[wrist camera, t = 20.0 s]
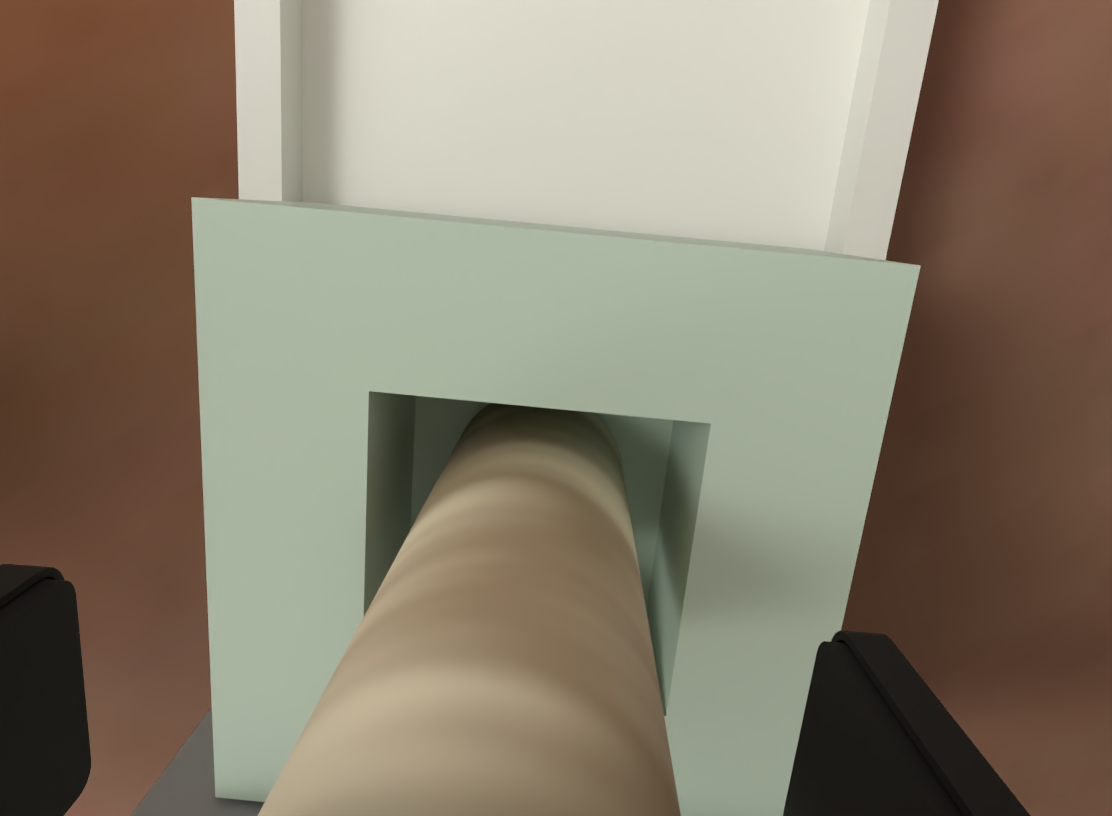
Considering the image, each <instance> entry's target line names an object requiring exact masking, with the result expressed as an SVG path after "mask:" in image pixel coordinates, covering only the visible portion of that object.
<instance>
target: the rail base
mask: <svg viewBox="0 0 1112 816" xmlns="http://www.w3.org/2000/svg"><path fill="white" fill-rule="evenodd" d="M938 2H939V0H234V12H235V54H236V97H237V139H238V181H239V199H241V200H263V201H285V202H306V203H323V204H334V205H345V206H355V207H366V208H377V209H387V210H398V211H409V212H419V213H430V214H441V215H451V216H462V217H473V218H483V219H494V220H505V221H516V222H526V223H537V224H548V225H558V226H569V227H580V228H590V229H601V230H612V231H622V232H633V233H644V234H654V235H665V236H676V237H687V238H697V239H708V240H719V241H729V242H740V243H751V244H761V245H772V246H783V247H793V248H804V249H812V250H819V251H826V252H833V253H839V254H846V255H853V256H860V257H867V258H873V259H880V260H886V255H887V250H888V245H889V240H890V235H891V231H892V226H893V221H894V216H895V211H896V206H897V201H898V197H899V192H900V187H901V182H902V177H903V172H904V167H905V163H906V158H907V153H908V148H909V143H910V138H911V133H912V128H913V124H914V119H915V114H916V109H917V104H918V99H919V94H920V90H921V85H922V80H923V75H924V70H925V65H926V60H927V56H928V51H929V46H930V41H931V36H932V31H933V26H934V21H935V17H936V12H937V7H938ZM264 803H265V802H259V801H248V800H238V799H228V798H218V797H215V775H214V750H213V725H212V707H211V708H210V710H209V711H208V712H207V714H206V715H205V716H204V718H203V719H202V720H201V722H200V723H199V725H198V726H197V727H196V729H195V730H194V731H193V733H192V734H191V735H190V737H189V738H188V739H187V741H186V742H185V743H184V745H183V746H182V747H181V749H180V750H179V751H178V753H177V754H176V755H175V757H174V758H173V759H172V761H171V762H170V763H169V765H168V766H167V767H166V769H165V770H164V772H163V773H162V774H161V776H160V777H159V778H158V780H157V781H156V782H155V784H154V785H153V786H152V788H151V789H150V790H149V792H148V793H147V794H146V796H145V797H144V798H143V800H142V801H141V802H140V804H139V805H138V806H137V808H136V809H135V810H134V812H133V813H132V814H131V816H258V814H259V812H260V810H261V808H262V806H263V804H264Z"/></svg>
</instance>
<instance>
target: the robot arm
mask: <svg viewBox="0 0 1112 816" xmlns="http://www.w3.org/2000/svg"><path fill="white" fill-rule="evenodd" d="M90 769H91V755H90V744H89V733H88V722H87V711H86V700H85V689H84V678H83V667H82V656H81V645H80V634H79V623H78V612H77V601H76V593H75V588H74V586H73V585H72V583H70V582H68V581H64V577H63V576H62V574H61V572H60V571H59V570H57V569H55V568H51V567H38V566H26V565H13V564H2V565H0V816H63V815H64V814H65V813H66V812H67V811H68V809H69V808H70V807H71V806H72V804H73V803H74V802H75V801H76V800H77V798H78V797H79V795H80V794H81V793H82V791H83V789H84V787H85V785H86V783H87V780H88V777H89V774H90ZM783 816H1030V815H1029V814H1028V812H1027V811H1026V810H1025V808H1024V807H1023V806H1022V805H1021V803H1020V802H1019V801H1018V800H1017V798H1016V797H1015V796H1014V795H1013V793H1012V792H1011V791H1010V790H1009V788H1008V787H1007V786H1006V784H1005V783H1004V782H1003V781H1002V779H1001V778H1000V777H999V776H998V774H997V773H996V772H995V771H994V769H993V768H992V767H991V765H990V764H989V763H988V762H987V760H986V759H985V758H984V757H983V755H982V754H981V753H980V752H979V750H978V749H977V748H976V747H975V745H974V744H973V743H972V741H971V740H970V739H969V738H968V736H967V735H966V734H965V733H964V731H963V730H962V729H961V728H960V726H959V725H958V724H957V722H956V721H955V720H954V719H953V717H952V716H951V715H950V714H949V712H948V711H947V710H946V709H945V707H944V706H943V705H942V704H941V702H940V701H939V700H938V698H937V697H936V696H935V695H934V693H933V692H932V691H931V690H930V688H929V687H928V686H927V685H926V683H925V682H924V681H923V679H922V678H921V677H920V676H919V674H918V673H917V672H916V671H915V669H914V668H913V667H912V666H911V664H910V663H909V662H908V661H907V659H906V658H905V657H904V655H903V654H902V653H901V652H900V650H899V649H898V648H897V647H896V645H895V644H894V643H893V642H892V640H891V639H890V638H889V637H888V636H886V635H883V634H875V633H862V632H850V631H838V632H836V633H835V635H834V636H833V638H832V640H831V642H828V641H823V642H822V643H821V644H820V645H819V647H818V650H817V654H816V659H815V663H814V668H813V673H812V678H811V682H810V687H809V692H808V697H807V702H806V706H805V711H804V716H803V721H802V725H801V730H800V735H799V740H798V745H797V749H796V754H795V759H794V764H793V768H792V773H791V778H790V783H789V788H788V792H787V797H786V802H785V807H784V812H783Z"/></svg>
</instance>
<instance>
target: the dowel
mask: <svg viewBox="0 0 1112 816" xmlns="http://www.w3.org/2000/svg"><path fill="white" fill-rule="evenodd" d="M258 816H681V814H680V808H679V802H678V796H677V790H676V784H675V778H674V772H673V766H672V760H671V755H670V749H669V743H668V737H667V731H666V725H665V719H664V713H663V707H662V701H661V695H660V689H659V684H658V678H657V672H656V666H655V660H654V654H653V648H652V642H651V636H650V630H649V624H648V618H647V613H646V607H645V601H644V595H643V589H642V583H641V577H640V571H639V565H638V559H637V553H636V547H635V542H634V536H633V530H632V524H631V518H630V512H629V506H628V500H627V494H626V488H625V482H624V476H623V471H622V465H621V459H620V454H619V450H618V447H617V444H616V442H615V439H614V437H613V435H612V434H611V432H610V430H609V429H608V427H607V426H606V424H605V423H604V422H603V421H602V419H601V418H600V417H599V416H598V415H597V414H596V413H594V412H583V411H573V410H562V409H551V408H541V407H530V406H520V405H509V404H499V403H490V404H488V405H487V406H486V407H484V408H483V409H482V410H481V411H479V412H478V413H477V414H476V415H475V416H474V417H473V418H472V419H471V421H470V422H469V424H468V425H467V426H466V428H465V429H464V431H463V433H462V435H461V437H460V439H459V440H458V442H457V444H456V446H455V448H454V450H453V452H452V453H451V455H450V457H449V459H448V461H447V463H446V465H445V467H444V468H443V470H442V472H441V474H440V476H439V478H438V480H437V481H436V483H435V485H434V487H433V489H432V491H431V493H430V495H429V496H428V498H427V500H426V502H425V504H424V506H423V508H422V509H421V511H420V513H419V515H418V517H417V519H416V521H415V523H414V524H413V526H412V528H411V530H410V532H409V534H408V536H407V537H406V539H405V541H404V543H403V545H402V547H401V549H400V551H399V552H398V554H397V556H396V558H395V560H394V562H393V564H392V565H391V567H390V569H389V571H388V573H387V575H386V577H385V579H384V580H383V582H382V584H381V586H380V588H379V590H378V592H377V594H376V595H375V597H374V599H373V601H372V603H371V605H370V607H369V608H368V610H367V612H366V614H365V616H364V618H363V620H362V622H361V623H360V625H359V627H358V629H357V631H356V633H355V635H354V636H353V638H352V640H351V642H350V644H349V646H348V648H347V650H346V651H345V653H344V655H343V657H342V659H341V661H340V663H339V664H338V666H337V668H336V670H335V672H334V674H333V676H332V678H331V679H330V681H329V683H328V685H327V687H326V689H325V691H324V692H323V694H322V696H321V698H320V700H319V702H318V704H317V706H316V707H315V709H314V711H313V713H312V715H311V717H310V719H309V720H308V722H307V724H306V726H305V728H304V730H303V732H302V734H301V735H300V737H299V739H298V741H297V743H296V745H295V747H294V748H293V750H292V752H291V754H290V756H289V758H288V760H287V762H286V763H285V765H284V767H283V769H282V771H281V773H280V775H279V776H278V778H277V780H276V782H275V784H274V786H273V788H272V790H271V791H270V793H269V795H268V797H267V799H266V801H265V803H264V804H263V806H262V808H261V810H260V812H259V814H258Z"/></svg>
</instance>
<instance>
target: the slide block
mask: <svg viewBox="0 0 1112 816" xmlns="http://www.w3.org/2000/svg"><path fill="white" fill-rule="evenodd" d="M191 201H192V226H193V251H194V276H195V301H196V326H197V351H198V376H199V401H200V426H201V451H202V476H203V501H204V526H205V550H206V575H207V600H208V625H209V650H210V675H211V700H212V725H213V750H214V775H215V797H218V798H228V799H238V800H248V801H259V802H265V801H266V799H267V797H268V795H269V793H270V791H271V790H272V788H273V786H274V784H275V782H276V780H277V778H278V776H279V775H280V773H281V771H282V769H283V767H284V765H285V763H286V762H287V760H288V758H289V756H290V754H291V752H292V750H293V748H294V747H295V745H296V743H297V741H298V739H299V737H300V735H301V734H302V732H303V730H304V728H305V726H306V724H307V722H308V720H309V719H310V717H311V715H312V713H313V711H314V709H315V707H316V706H317V704H318V702H319V700H320V698H321V696H322V694H323V692H324V691H325V689H326V687H327V685H328V683H329V681H330V679H331V678H332V676H333V674H334V672H335V670H336V668H337V666H338V664H339V663H340V661H341V659H342V657H343V655H344V653H345V651H346V650H347V648H348V646H349V644H350V642H351V640H352V638H353V636H354V635H355V633H356V631H357V629H358V627H359V625H360V623H361V622H362V620H363V618H364V616H365V614H366V612H367V610H368V608H369V607H370V605H371V603H372V601H373V599H374V597H375V595H376V594H377V592H378V590H379V588H380V586H381V584H382V582H383V580H384V579H385V577H386V575H387V573H388V571H389V569H390V567H391V565H392V564H393V562H394V560H395V558H396V556H397V554H398V552H399V551H400V549H401V547H402V545H403V543H404V541H405V539H406V537H407V536H408V534H409V532H410V530H411V528H412V526H413V524H414V523H415V521H416V519H417V517H418V515H419V513H420V511H421V509H422V508H423V506H424V504H425V502H426V500H427V498H428V496H429V495H430V493H431V491H432V489H433V487H434V485H435V483H436V481H437V480H438V478H439V476H440V474H441V472H442V470H443V468H444V467H445V465H446V463H447V461H448V459H449V457H450V455H451V453H452V452H453V450H454V448H455V446H456V444H457V442H458V440H459V439H460V437H461V435H462V433H463V431H464V429H465V428H466V426H467V425H468V424H469V422H470V421H471V419H472V418H473V417H474V416H475V415H476V414H477V413H478V412H479V411H481V410H482V409H483V408H484V407H486V406H487V405H488V404H490V403H499V404H509V405H520V406H530V407H541V408H551V409H562V410H573V411H583V412H594V413H596V414H597V415H598V416H599V417H600V418H601V419H602V421H603V422H604V423H605V424H606V426H607V427H608V429H609V430H610V432H611V434H612V435H613V437H614V439H615V442H616V444H617V447H618V450H619V454H620V459H621V465H622V471H623V476H624V482H625V488H626V494H627V500H628V506H629V512H630V518H631V524H632V530H633V536H634V542H635V547H636V553H637V559H638V565H639V571H640V577H641V583H642V589H643V595H644V601H645V607H646V613H647V618H648V624H649V630H650V636H651V642H652V648H653V654H654V660H655V666H656V672H657V678H658V684H659V689H660V695H661V701H662V707H663V713H664V719H665V725H666V731H667V737H668V743H669V749H670V755H671V760H672V766H673V772H674V778H675V784H676V790H677V796H678V802H679V808H680V814H681V816H783V812H784V807H785V802H786V797H787V792H788V788H789V783H790V778H791V773H792V768H793V764H794V759H795V754H796V749H797V745H798V740H799V735H800V730H801V725H802V721H803V716H804V711H805V706H806V702H807V697H808V692H809V687H810V682H811V678H812V673H813V668H814V663H815V659H816V654H817V650H818V647H819V645H820V644H821V643H822V642H823V641H828V642H831V640H832V638H833V636H834V635H835V633H836V632H838V631H841V628H842V624H843V619H844V614H845V610H846V605H847V601H848V596H849V591H850V587H851V582H852V578H853V573H854V569H855V564H856V559H857V555H858V550H859V546H860V541H861V537H862V532H863V527H864V523H865V518H866V514H867V509H868V505H869V500H870V495H871V491H872V486H873V482H874V477H875V473H876V468H877V463H878V459H879V454H880V450H881V445H882V441H883V436H884V431H885V427H886V422H887V418H888V413H889V408H890V404H891V399H892V395H893V390H894V386H895V381H896V376H897V372H898V367H899V363H900V358H901V354H902V349H903V344H904V340H905V335H906V331H907V326H908V322H909V317H910V312H911V308H912V303H913V299H914V294H915V290H916V285H917V280H918V276H919V271H920V267H921V265H914V264H907V263H901V262H894V261H887V260H880V259H873V258H867V257H860V256H853V255H846V254H839V253H833V252H826V251H819V250H812V249H804V248H793V247H783V246H772V245H761V244H751V243H740V242H729V241H719V240H708V239H697V238H687V237H676V236H665V235H654V234H644V233H633V232H622V231H612V230H601V229H590V228H580V227H569V226H558V225H548V224H537V223H526V222H516V221H505V220H494V219H483V218H473V217H462V216H451V215H441V214H430V213H419V212H409V211H398V210H387V209H377V208H366V207H355V206H345V205H334V204H323V203H306V202H285V201H263V200H241V199H220V198H198V197H191Z"/></svg>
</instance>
